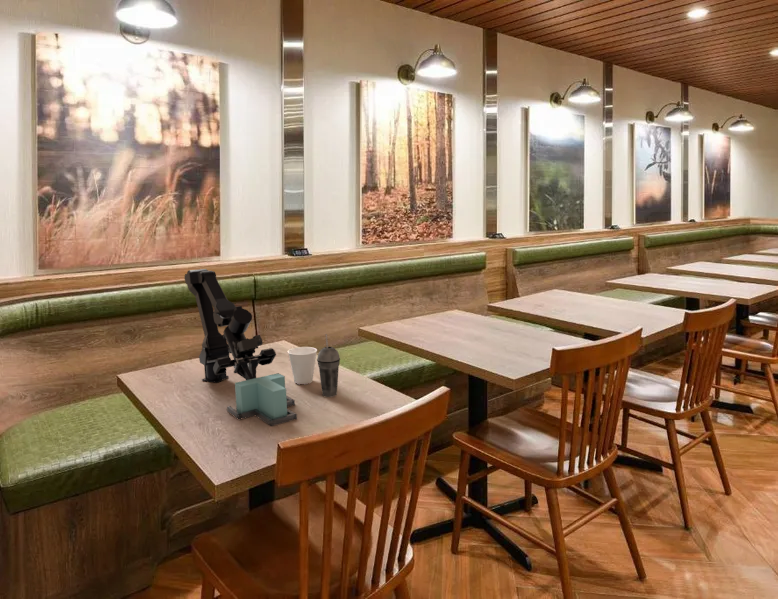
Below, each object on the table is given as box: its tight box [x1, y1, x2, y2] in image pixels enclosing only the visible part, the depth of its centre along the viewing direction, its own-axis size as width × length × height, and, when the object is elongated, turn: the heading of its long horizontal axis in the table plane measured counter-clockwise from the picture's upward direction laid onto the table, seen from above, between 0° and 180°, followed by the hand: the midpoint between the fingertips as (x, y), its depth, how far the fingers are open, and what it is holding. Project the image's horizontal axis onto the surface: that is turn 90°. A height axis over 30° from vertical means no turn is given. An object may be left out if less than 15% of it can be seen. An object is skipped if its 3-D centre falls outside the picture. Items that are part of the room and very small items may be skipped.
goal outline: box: [226, 395, 298, 427], centre depth 169 cm, size 18×18×2 cm
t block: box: [234, 372, 288, 419], centre depth 168 cm, size 14×14×9 cm
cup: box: [287, 346, 318, 385], centre depth 195 cm, size 10×10×11 cm
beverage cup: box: [316, 333, 341, 398], centre depth 182 cm, size 7×7×20 cm
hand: (254, 384), depth 174 cm, fingers closed
